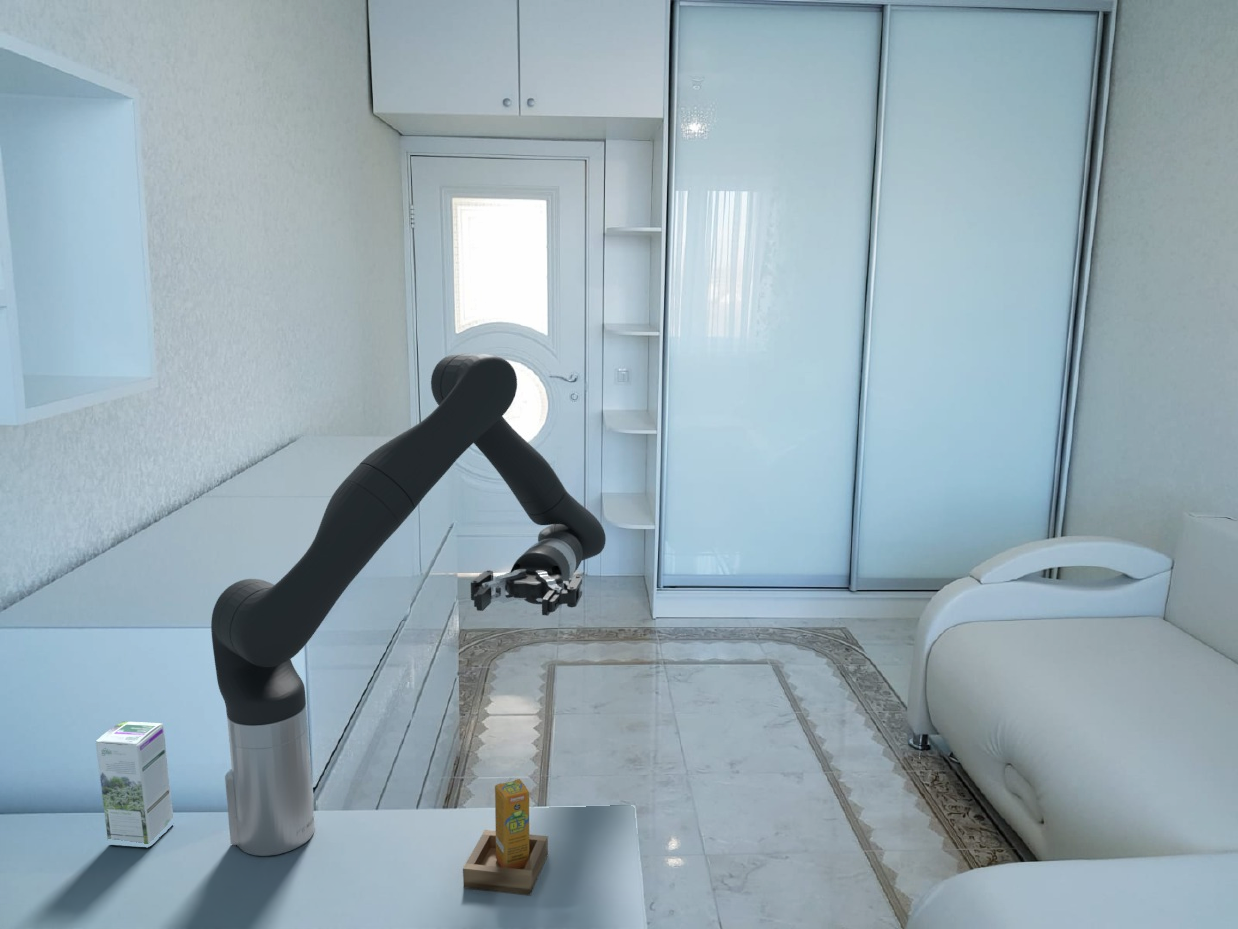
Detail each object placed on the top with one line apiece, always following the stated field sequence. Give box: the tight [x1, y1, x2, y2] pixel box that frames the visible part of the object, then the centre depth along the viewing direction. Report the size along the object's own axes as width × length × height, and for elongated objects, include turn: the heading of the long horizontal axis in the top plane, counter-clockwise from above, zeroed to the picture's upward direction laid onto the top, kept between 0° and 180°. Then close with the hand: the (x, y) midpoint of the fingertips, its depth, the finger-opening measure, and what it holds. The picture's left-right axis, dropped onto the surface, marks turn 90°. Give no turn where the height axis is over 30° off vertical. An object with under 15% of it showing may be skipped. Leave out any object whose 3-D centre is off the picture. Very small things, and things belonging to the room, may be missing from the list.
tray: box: [462, 829, 549, 896], centre depth 112 cm, size 8×8×2 cm
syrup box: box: [95, 721, 174, 844], centre depth 119 cm, size 6×6×14 cm
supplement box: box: [494, 778, 530, 869], centre depth 112 cm, size 3×3×10 cm
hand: (511, 605), depth 118 cm, fingers open, 8 cm apart
